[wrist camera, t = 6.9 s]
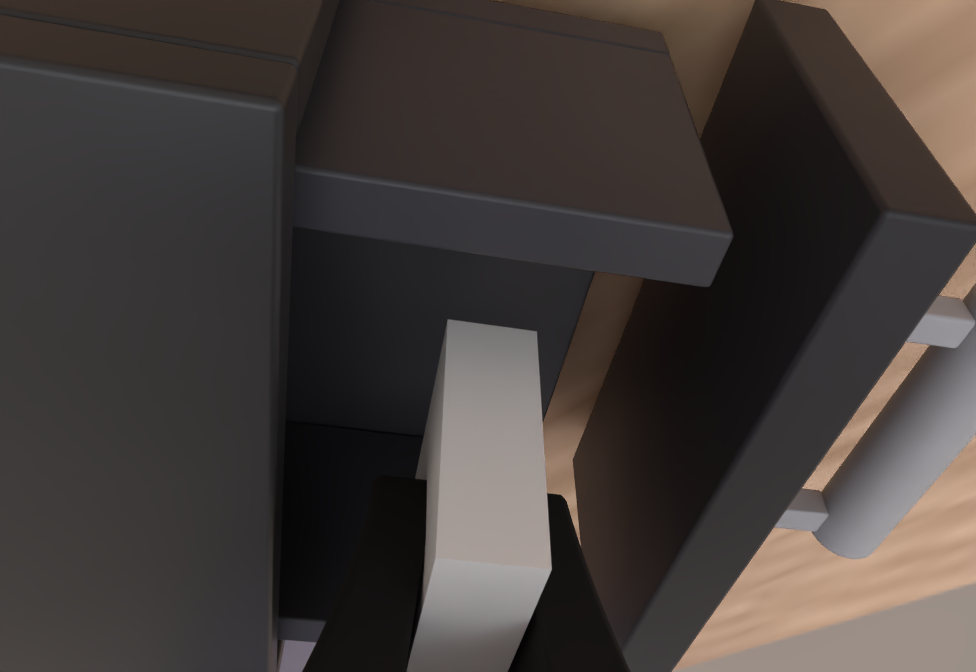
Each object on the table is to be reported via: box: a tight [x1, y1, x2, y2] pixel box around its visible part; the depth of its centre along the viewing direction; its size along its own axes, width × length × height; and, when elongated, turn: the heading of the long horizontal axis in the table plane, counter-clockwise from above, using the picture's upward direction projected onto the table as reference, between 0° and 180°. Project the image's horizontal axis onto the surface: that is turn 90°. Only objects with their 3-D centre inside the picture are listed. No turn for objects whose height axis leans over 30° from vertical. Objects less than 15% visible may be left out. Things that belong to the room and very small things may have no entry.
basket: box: [278, 0, 976, 672], centre depth 14 cm, size 18×11×6 cm, turn 79°
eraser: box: [405, 319, 552, 672], centre depth 12 cm, size 1×5×4 cm, turn 170°
